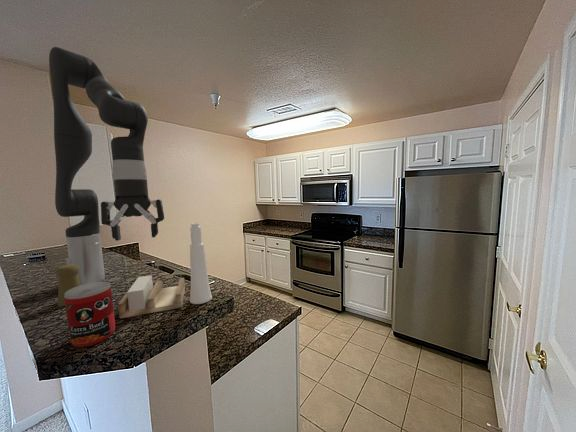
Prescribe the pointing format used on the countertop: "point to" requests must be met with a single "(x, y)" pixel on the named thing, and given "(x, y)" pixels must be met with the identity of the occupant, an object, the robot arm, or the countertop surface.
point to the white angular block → (140, 293)
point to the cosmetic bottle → (198, 268)
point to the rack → (156, 300)
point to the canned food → (90, 313)
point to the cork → (66, 280)
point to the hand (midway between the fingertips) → (136, 238)
